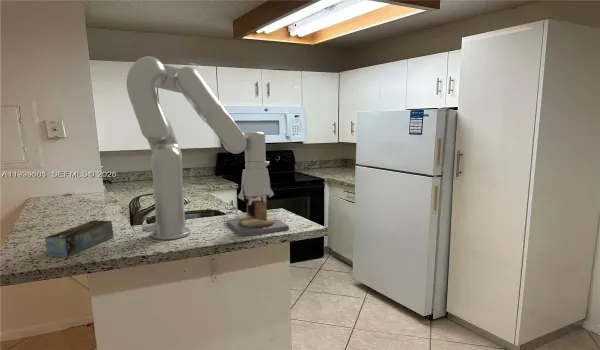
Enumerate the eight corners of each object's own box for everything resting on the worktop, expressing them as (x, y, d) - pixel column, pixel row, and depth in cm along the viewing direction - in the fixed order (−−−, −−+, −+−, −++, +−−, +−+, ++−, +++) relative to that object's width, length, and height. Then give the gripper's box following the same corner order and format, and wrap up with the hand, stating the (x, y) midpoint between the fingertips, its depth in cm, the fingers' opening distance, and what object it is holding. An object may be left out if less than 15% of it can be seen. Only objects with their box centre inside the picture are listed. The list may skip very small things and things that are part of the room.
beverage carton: (45, 256, 107) (42, 234, 106) (95, 236, 125) (93, 218, 124) (67, 258, 105) (64, 236, 104) (115, 238, 123) (113, 219, 122)
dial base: (241, 236, 123) (241, 232, 123) (227, 223, 139) (227, 219, 138) (288, 229, 131) (288, 225, 130) (270, 218, 147) (270, 214, 146)
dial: (233, 221, 135) (232, 200, 134) (261, 215, 144) (261, 196, 142) (251, 229, 125) (250, 206, 124) (281, 222, 134) (280, 201, 132)
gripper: (272, 163, 138) (273, 209, 141) (230, 165, 131) (232, 214, 134) (280, 165, 132) (281, 213, 134) (236, 168, 124) (238, 219, 127)
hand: (256, 213), depth 134 cm, fingers closed on dial, 3 cm apart
